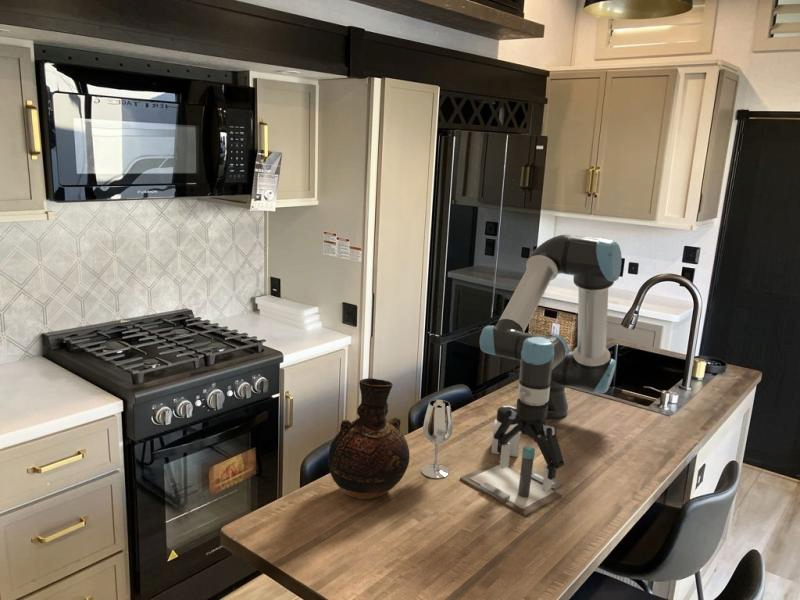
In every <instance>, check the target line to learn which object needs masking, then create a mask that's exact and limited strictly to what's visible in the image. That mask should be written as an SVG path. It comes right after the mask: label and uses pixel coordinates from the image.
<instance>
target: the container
mask: <svg viewBox="0 0 800 600" xmlns="http://www.w3.org/2000/svg"><path fill="white" fill-rule="evenodd" d="M511 409H515V410H516V407H514V406H511V405H503V406H500V407H498V408H497V410H496V411H497V413H496V419H494V423H493V431H492V440H491V441H492V442H491V454H495V455H500V454H499V449H500V448H499V447H500V443H499V441H498V440H497V439H495V438H494V435H495V433H496V431H497V430H498V428H499V427H500V425H501V424H502V422H503V420H504V419H505V416H506V411H508V410H511ZM516 425H518V424H517V421H516V419H514V420H513V422H512V423H511V425H510V426H509V428H508V429H507V431H506V432H505V434H504V436H505V435H506V434H507V433H508V432H510V431H511V430H512V429H513V428H514V427H515V426H516ZM521 434H522V432H521V431H520V432H519V433H518V434H517V435H515V436H514V437H513V438H512V439H510V441H508V442H509V443H511V446H510V456H509V457H516V458H517V457H519V452H520V451H519V450H520V441H521ZM508 442H507V443H508Z"/></svg>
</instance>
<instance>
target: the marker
mask: <svg viewBox="0 0 800 600" xmlns="http://www.w3.org/2000/svg"><path fill="white" fill-rule="evenodd" d="M535 453H536V449H535V447H533V446H530V445H525V446H523V447H522V454H521V464H520V465H521V466H520V472H519V473H520V481H519V490H518V495H519V496H521V497H528V496H529V492H530V484H531V479H532V478H531V476H532V471H533V468H534V467H533V465H534V458H535Z"/></svg>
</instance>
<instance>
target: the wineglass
mask: <svg viewBox="0 0 800 600" xmlns="http://www.w3.org/2000/svg"><path fill="white" fill-rule="evenodd" d="M451 409H452V408H451V404H450V402H448V401H447V400H444V399H433V400H430V401H429V403H428V406H427V409H426V413H425V415H424V421H423V428H422V429H423V434H424V436H425V438H426V440H428V441H429V442H430V443H432V444H434V462H433V463H428V464H425V465H424V466H422V467H421V470H420V472H421V474H423V475H424V476H425V477H428V478H431V479H444V478H446V477H447V476H448V475H449V474H450V472H449V469H448V468H447V467H446V466H444V465H442V464H438V453H439V451H438V450H439V446H440V445H441V444H444V443H446V442H447V441H448V440H449V439H450V438H451V436H452V434H453V416H452V410H451Z"/></svg>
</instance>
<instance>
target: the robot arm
mask: <svg viewBox="0 0 800 600" xmlns="http://www.w3.org/2000/svg"><path fill="white" fill-rule="evenodd" d="M622 258H623V257H622V250H621V247H620V245H619V244H618V243H617V241H615V240H612V239H606V238H604V237H600V238H597V237H588V236H582V235H581V236H580V235H573V234H560V235H555V236H553V237H552V238H549V239H547V240H545V241H544V242H542V243H541V244H540V245H538V246H537V247H536V248H535V249H534V250H533V251H532V252H531V254H530V255H529V257H528V259H527V261H526V263H525V264H526V270H525V272H524V274H523V276H522V277H521V279H520V281H519V282H518V285H517V286H516V288H515V290H514V292H513V293H512V295H511V298H510V299H509V302H508V303H507V305H506V307H505V309H504V311H503V312H502V314H501V316H500V317H499V320H498V321H497V324H496V325H493V324H492V325H486V326H484V328H482V330H481V334H480V336H479V347H480V350H481V351H482V352H483V353H485V354H488V355H492V356H494V357H502V358H505V359H510V360H515V361H519V362H520V366H519V379H518V392H517V399H516V400H517V401H516V407H515V408H516V410H515V409H511V410H508V411H506V416H505V419H504V420H503V422H502V424H501V425H500V427H499V428H498V430H497V431H496V433H495V435H494V438H495V439H497V440H498V441H499V443H500V447H499V448H500V449H499V454H498V455H500V461H499V463H500V468H501V469H503V468H505V467H509V465H510V457H511V456H510V446H511V443H509V442H508V441H510V439H512V438H513V437H514V436H515V435H517V434H518V433H519V432H520V431H521V434H522V435H525V436H528V437H529V438H530V439H532V440H533V442H535V443H536V444H537V446H538V448H539V450H540V452H541V455H542V457H543V458H544V460H545V462H546V465H545V466H544V472H543V475H544V479H543V484H542V485H543V488H542V490H543V491H544V492H545V491H547V490H549V489H551V487H552V480H554V479H555V478H556V474H557V470H558V469H560V468H562V467H563V466H565V461H564V460H565V459H564V457H563V454H562V451H561V447H560V444H559V443H560V442H559V440H558V436H557V426H556V425H552V426H550V425H547V423H546V419H560V418H563V417H565V416H567V415H568V413H569V411H568V410H569V404H568V399H567V396H566V392H565V391H566V390H565V389H566V387H570V388H573V389H574V388H575V389H579V390H582V391H587V392H589V393H590V392H591V393H597V394H605V393H607V392H608V390H609V388H610V385H611V383H612V380H613V377H614V373H615V370H616V365H617V360H615V359H613V358H611V352H610V351H609V349H608V348H607V347H606V346H607V329H608V326H607V325H608V306H609V304H608V303H609V301H608V300H609V288H611V287H612V286H613V285H614V283H615V282H616V281H618V280H619V278H620V275H621V271H622V265H623V264H622V261H623V259H622ZM559 274H563V275H564V274H565V275H567V276H569V275H570V276H572V277H573V284H574V285H575V286H576V287H577V288H578V298H577V299H578V300H577V301H578V303H577V304H578V305H577V307H578V308H577V309H578V310H577V346H576V347H575V348H574V349H573V350H571V348H570V345H569V344H568V342H567V341H566V339H565V338H564V337H563V336H561V335H560V334H557V333H551V334H547V335H539V334H535V333H529V332H525V331H526V329H527V327H528V326H529V323H530V321H531V319H532V317H533V315H534V313H535V312H536V310H537V308H538V306H539V303H540V302H541V300H542V298H543V296H544V294H545V292H546V290H547V289H548V286H549V284H550V283H551V281H553V280H555V279H556V278H557V276H558V275H559ZM514 419H516V421H517V424H518V425H516V426H515V427H514V428H513V429H512V430H511V431H510V432H508V433H507V434H506V435H505V436H504V434H505V432H506V431H507V429H508V428H509V426H510V425H511V423H512V422H513V420H514ZM539 436H540V437H539ZM507 442H508V443H507Z"/></svg>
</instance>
